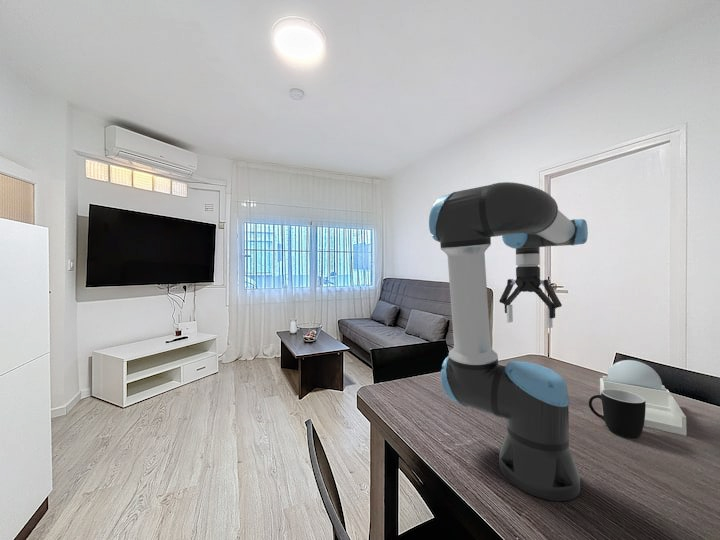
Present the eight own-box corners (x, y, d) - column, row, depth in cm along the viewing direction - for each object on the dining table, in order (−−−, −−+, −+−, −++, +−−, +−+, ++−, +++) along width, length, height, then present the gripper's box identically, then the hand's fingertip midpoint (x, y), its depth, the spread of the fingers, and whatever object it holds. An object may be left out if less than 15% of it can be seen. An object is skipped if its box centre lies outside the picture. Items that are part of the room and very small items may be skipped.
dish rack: (686, 435, 77) (686, 413, 77) (603, 416, 87) (602, 396, 87) (667, 404, 94) (667, 386, 94) (600, 391, 104) (599, 375, 104)
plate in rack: (662, 406, 91) (661, 364, 91) (608, 395, 99) (607, 357, 99) (661, 404, 92) (660, 363, 92) (608, 394, 100) (607, 356, 100)
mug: (649, 433, 78) (648, 396, 78) (642, 446, 73) (641, 406, 73) (593, 416, 88) (593, 383, 88) (584, 426, 82) (583, 390, 82)
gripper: (572, 265, 96) (573, 328, 96) (499, 266, 116) (500, 319, 116) (563, 265, 92) (564, 331, 92) (489, 266, 112) (490, 321, 112)
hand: (528, 324), depth 104 cm, fingers open, 13 cm apart
